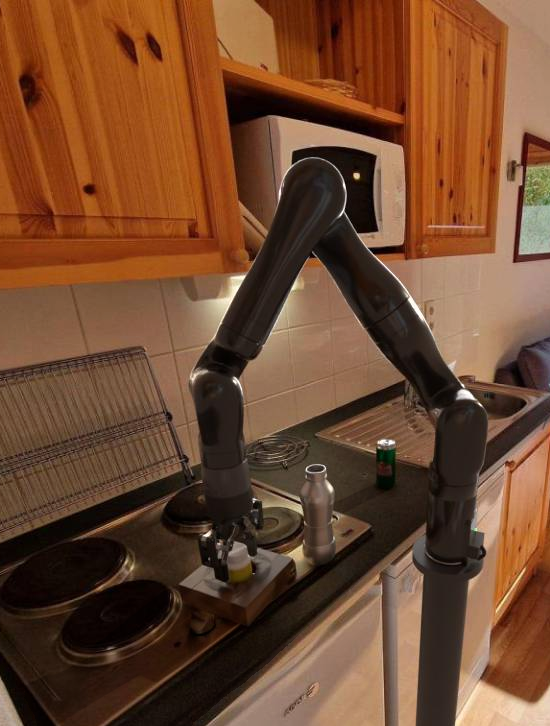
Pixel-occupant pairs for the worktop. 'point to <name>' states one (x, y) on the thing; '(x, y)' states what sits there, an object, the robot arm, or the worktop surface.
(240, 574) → the supplement bottle
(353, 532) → the worktop surface
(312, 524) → the silver metal bottle
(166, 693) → the worktop surface
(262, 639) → the worktop surface
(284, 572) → the bottle holder
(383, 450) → the soda can
